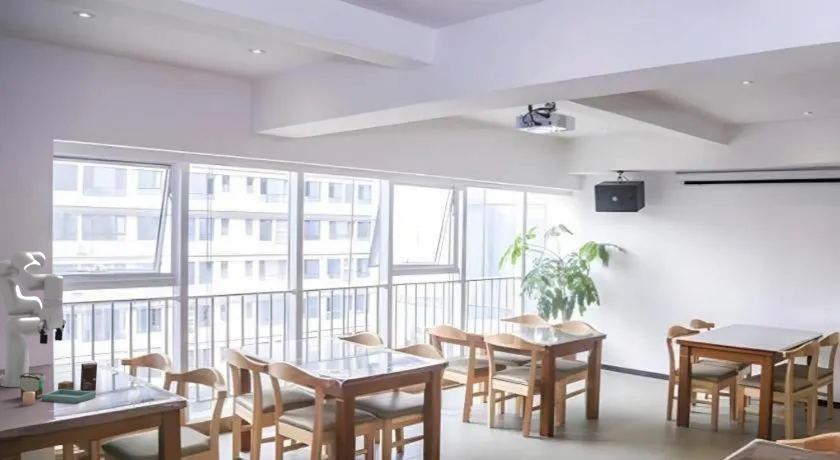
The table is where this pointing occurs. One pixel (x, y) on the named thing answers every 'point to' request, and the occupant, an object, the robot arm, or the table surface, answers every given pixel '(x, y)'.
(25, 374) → the food container
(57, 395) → the tray
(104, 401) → the table surface
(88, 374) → the box
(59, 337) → the robot arm
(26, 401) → the beige rounded cube
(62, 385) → the walnut block
